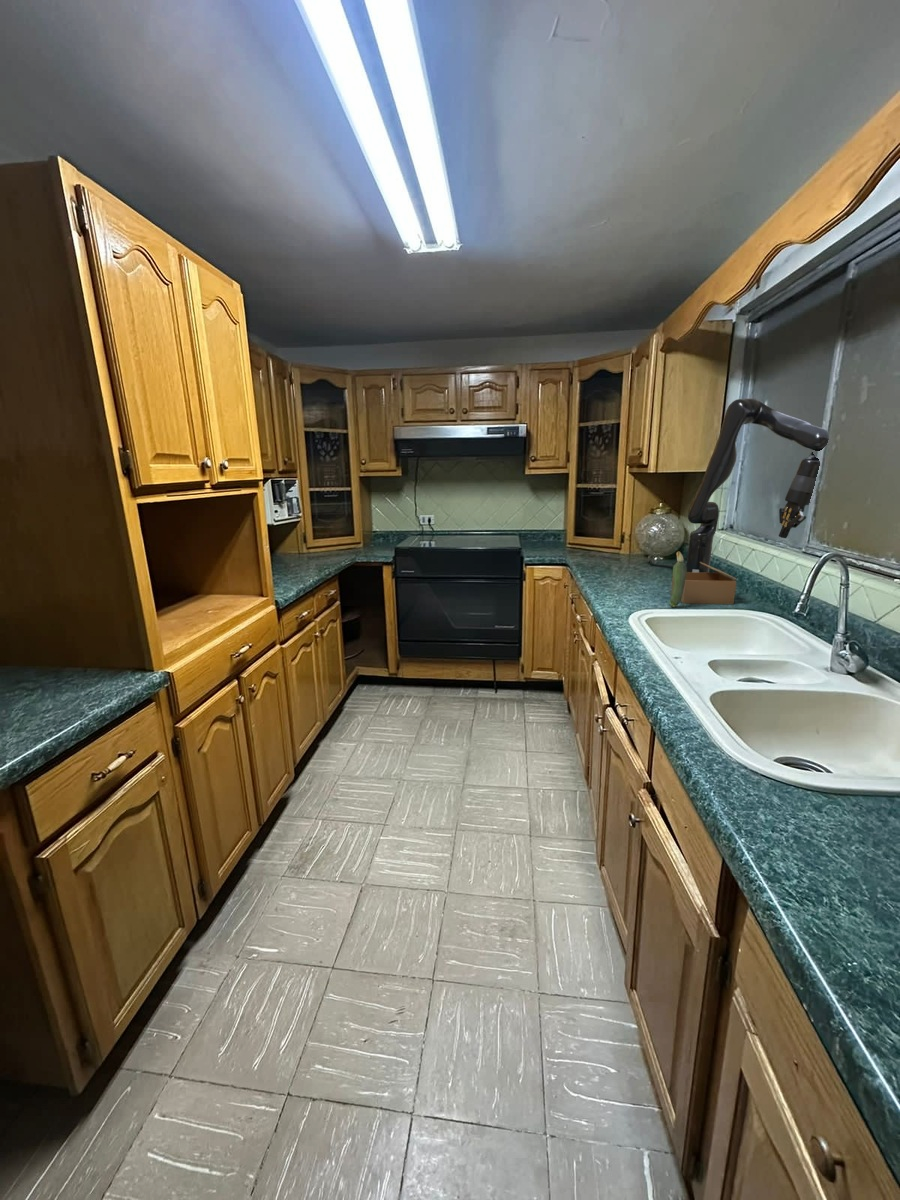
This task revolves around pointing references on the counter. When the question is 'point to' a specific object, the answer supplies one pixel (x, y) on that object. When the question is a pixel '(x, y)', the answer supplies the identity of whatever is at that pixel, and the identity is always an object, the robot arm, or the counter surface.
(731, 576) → the flap
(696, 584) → the carton
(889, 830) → the counter surface
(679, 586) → the vegetable
